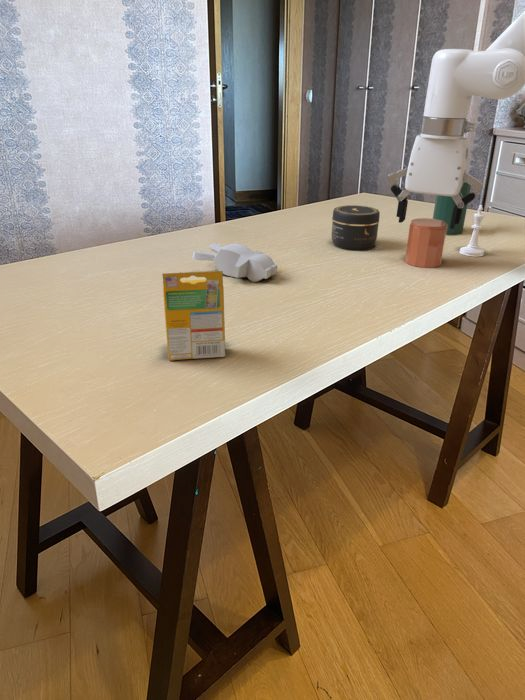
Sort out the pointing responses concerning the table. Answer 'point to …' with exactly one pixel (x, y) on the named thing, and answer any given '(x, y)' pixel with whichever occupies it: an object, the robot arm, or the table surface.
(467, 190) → the bottle
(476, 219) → the chess piece
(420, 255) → the terracotta orange cylinder
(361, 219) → the jar
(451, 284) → the table surface
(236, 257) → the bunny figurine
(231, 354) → the table surface
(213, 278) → the crayon box
